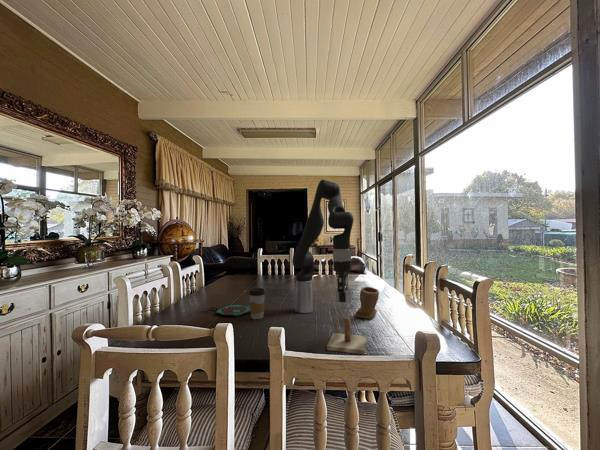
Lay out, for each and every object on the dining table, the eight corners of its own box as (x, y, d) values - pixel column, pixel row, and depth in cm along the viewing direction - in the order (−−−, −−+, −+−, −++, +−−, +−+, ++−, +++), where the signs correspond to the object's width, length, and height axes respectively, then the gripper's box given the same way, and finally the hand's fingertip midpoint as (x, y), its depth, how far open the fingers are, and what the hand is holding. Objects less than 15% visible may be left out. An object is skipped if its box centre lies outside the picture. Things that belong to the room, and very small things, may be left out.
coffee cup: (268, 317, 152) (267, 288, 152) (259, 321, 144) (259, 291, 144) (255, 315, 155) (254, 287, 156) (245, 319, 148) (245, 290, 148)
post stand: (326, 349, 110) (326, 322, 110) (333, 336, 124) (333, 312, 124) (364, 354, 106) (363, 325, 106) (367, 339, 119) (366, 314, 119)
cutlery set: (239, 320, 148) (238, 315, 148) (195, 314, 161) (195, 310, 161) (260, 310, 166) (260, 306, 166) (219, 305, 179) (219, 302, 179)
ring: (335, 302, 118) (334, 290, 118) (337, 299, 124) (337, 287, 124) (349, 303, 116) (349, 291, 116) (351, 300, 122) (351, 288, 122)
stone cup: (376, 321, 142) (376, 291, 142) (353, 318, 147) (352, 289, 147) (382, 313, 156) (381, 285, 156) (360, 310, 161) (360, 283, 161)
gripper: (336, 258, 128) (337, 296, 128) (330, 261, 114) (331, 303, 114) (353, 258, 126) (354, 296, 126) (348, 261, 112) (350, 304, 112)
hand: (343, 299), depth 120 cm, fingers closed on ring, 6 cm apart
